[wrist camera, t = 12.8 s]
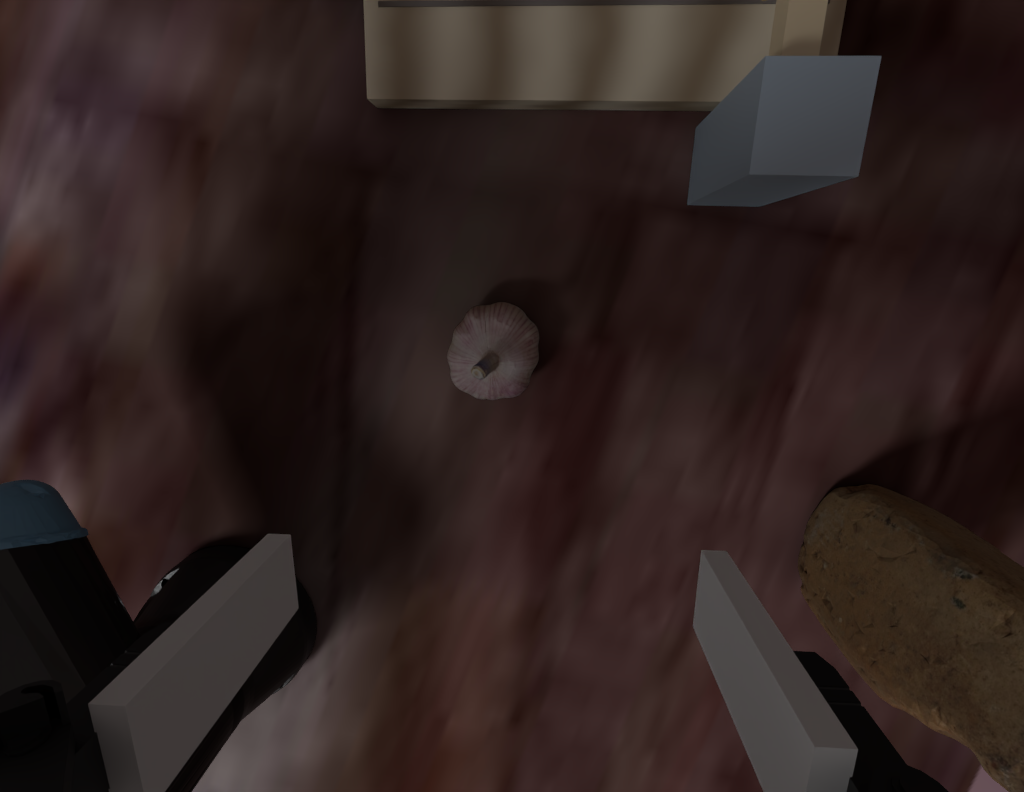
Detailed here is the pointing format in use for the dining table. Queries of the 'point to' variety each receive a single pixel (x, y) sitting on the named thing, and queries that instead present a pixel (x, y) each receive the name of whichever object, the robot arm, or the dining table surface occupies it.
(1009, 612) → the stone
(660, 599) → the dining table surface
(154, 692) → the robot arm
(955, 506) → the dining table surface
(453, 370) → the garlic bulb
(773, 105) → the hammer
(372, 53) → the board
